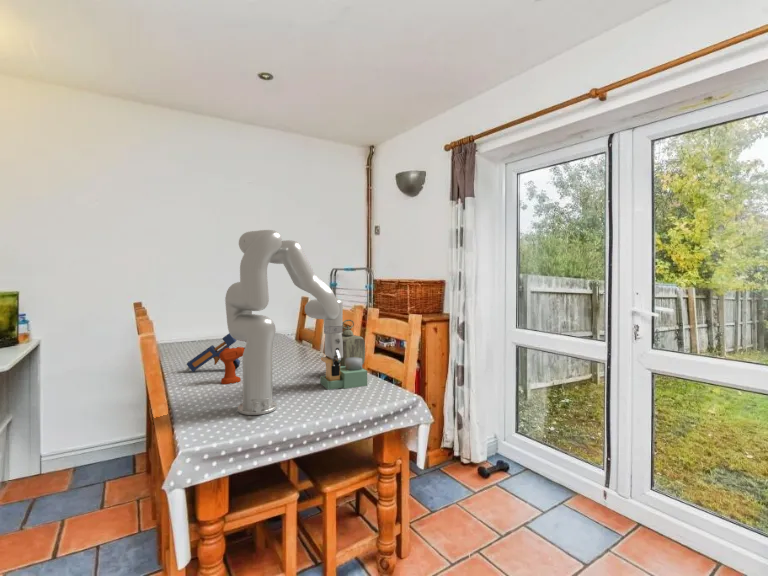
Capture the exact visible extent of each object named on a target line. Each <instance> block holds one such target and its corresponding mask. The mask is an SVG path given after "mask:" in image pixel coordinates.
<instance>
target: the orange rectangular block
mask: <svg viewBox="0 0 768 576" xmlns="http://www.w3.org/2000/svg"><path fill="white" fill-rule="evenodd" d="M334 358H337V357H334ZM320 360H321V361H322V362H323V363H325V376H326V379H327V380H329V381H336V380H340V375H339V376H332V366H333V364H332V359H331V358H329V357H326V356H321V357H320ZM334 362H335V360H334Z"/></svg>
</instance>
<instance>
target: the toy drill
mask: <svg viewBox="0 0 768 576" xmlns="http://www.w3.org/2000/svg"><path fill="white" fill-rule="evenodd" d="M245 347H246V346H245ZM245 347H243V346H236V347H231V348H230V347H229V348H225V349H224V350H223V351H222V352H221V353H220V355H219V358H220V359H219V361H221V362H222V363H223V365H224V374H223V375H224V376H223V377H222V378H221V380H220V381H221V382H220V383H221V384H222V385H231V384H230V383H232V384H236V382H237V383H241V379H242V378H241V377H240V376H237V375H236V370H237V369H238V368H239V367H240V365H237V363H236V361H234V360H236V359H239V358H241V357H242V358H243V352H244V349H245Z"/></svg>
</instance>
